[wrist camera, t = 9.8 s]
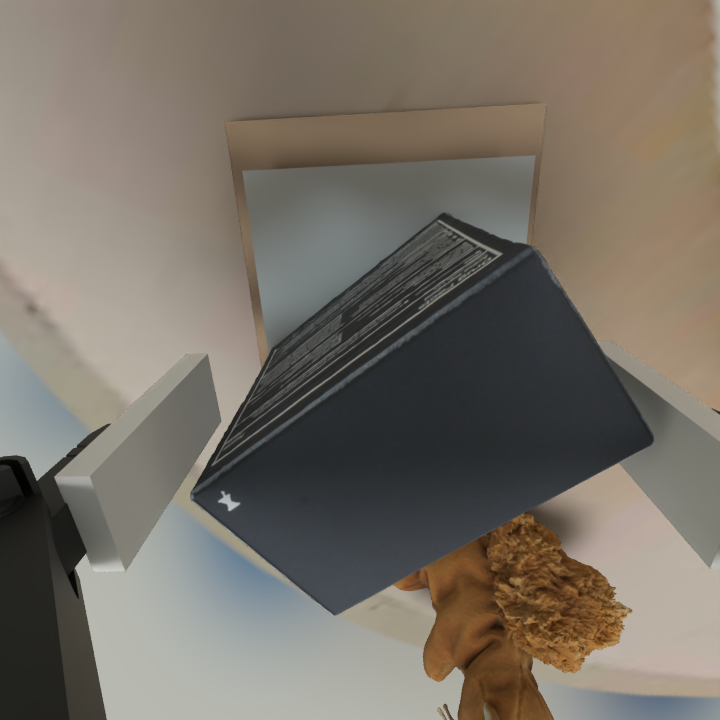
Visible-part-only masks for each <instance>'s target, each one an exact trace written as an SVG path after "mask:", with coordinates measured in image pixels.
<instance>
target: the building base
mask: <svg viewBox="0 0 720 720" xmlns="http://www.w3.org/2000/svg"><path fill="white" fill-rule="evenodd" d="M546 108H547V103H537V104H520V105H503V106H486V107H469V108H452V109H435V110H418V111H400V112H383V113H366V114H349V115H332V116H315V117H298V118H281V119H264V120H247V121H230V122H225V127H226V134H227V140H228V147H229V154H230V160H231V167H232V174H233V180H234V187H235V194H236V200H237V207H238V214H239V220H240V227H241V234H242V240H243V247H244V254H245V260H246V267H247V274H248V280H249V287H250V294H251V300H252V307H253V314H254V320H255V327H256V334H257V340H258V347H259V354H260V360H261V367H263V366H264V363H265V361H266V359H267V357H268V355H269V353H270V351H271V349H272V348H273V347H274V346H276V345H277V344H279V343H280V342H281V341H282V340H283V339H285V338H286V337H287V336H288V335H289V334H291V333H292V332H293V331H294V330H296V329H297V328H298V327H299V326H300V325H302V324H303V323H304V322H305V321H307V320H308V319H309V318H310V317H312V316H313V315H314V314H315V313H317V312H318V311H319V310H321V309H322V308H323V307H324V306H325V305H327V304H328V303H329V302H330V301H331V300H332V299H333V298H335V297H337V296H338V295H339V294H341V293H342V292H343V291H345V290H346V289H347V288H348V287H350V286H351V285H352V284H354V283H355V282H356V281H357V280H359V279H360V278H361V277H362V276H363V275H364V274H366V273H367V272H369V271H370V270H371V269H372V268H374V267H375V266H376V265H377V264H378V263H379V262H380V261H382V260H384V259H385V258H386V257H387V256H389V255H390V254H392V253H393V252H394V251H395V250H397V249H398V248H399V247H400V246H401V245H403V244H404V243H405V242H406V241H408V240H409V239H410V238H412V237H413V236H414V235H415V234H417V233H418V232H419V231H420V230H422V229H423V228H424V227H426V226H427V225H428V224H430V223H431V222H432V221H434V220H435V219H436V218H437V217H438V216H439V215H441V214H442V213H444V212H445V213H449V214H451V215H452V216H453V217H454V218H456V219H460V220H461V221H463V222H465V223H468V224H470V225H473V226H475V227H477V228H480V229H483V230H485V231H487V232H489V233H491V234H494V235H496V236H497V237H500V238H502V239H508V240H510V241H513V242H514V243H516V242H519V243H524V244H527V245H530V246H531V245H532V236H533V227H534V218H535V209H536V199H537V190H538V181H539V172H540V163H541V154H542V144H543V135H544V126H545V117H546Z"/></svg>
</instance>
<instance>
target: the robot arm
mask: <svg viewBox="0 0 720 720" xmlns="http://www.w3.org/2000/svg"><path fill="white" fill-rule="evenodd" d="M597 343H598V344H599V345H600V347H601V349H602V351H603V352H604V354H605V356H606V357H607V358H608V360H609V361H610V362H611V364H612V366H613V367H614V369H615V371H616V372H617V374H618V376H619V377H620V379H621V380H622V382H623V384H624V386H625V387H626V389H627V390H628V392H629V393H630V395H631V397H632V398H633V400H634V401H635V403H636V404H637V406H638V408H639V409H640V411H641V413H642V415H643V417H644V418H645V420H646V422H647V424H648V426H649V427H650V429H651V431H652V433H653V435H654V443H653V444H652V445H651V446H649V447H647V448H645V449H643V450H641V451H639V452H637V453H635V454H633V455H631V456H630V457H628V458H626V459H624V460H622V461H620V462H619V464H620V465H621V466H622V467H623V468H624V469H625V471H626V472H627V473H628V474H629V475H630V476H631V477H632V479H633V480H634V481H635V482H636V483H637V484H638V486H639V487H640V488H641V489H642V490H643V491H644V493H645V494H646V495H647V496H648V497H649V498H650V500H651V501H652V502H653V503H654V504H655V505H656V506H657V508H658V509H659V510H660V511H661V512H662V513H663V515H664V516H665V517H666V518H667V519H668V520H669V522H670V523H671V524H672V525H673V526H674V527H675V529H676V530H677V531H678V532H679V533H680V534H681V535H682V537H683V538H684V539H685V540H686V541H687V542H688V544H689V545H690V546H691V547H692V548H693V549H694V551H695V552H696V553H697V554H698V555H699V556H700V558H701V559H702V560H703V561H704V562H705V563H706V564H707V566H708V567H709V568H710V569H712V568H720V412H719V411H717V410H715V409H712V408H709V407H708V406H706V405H705V404H703V403H702V402H700V401H699V400H697V399H696V398H695V397H693V396H692V395H690V394H689V393H687V392H686V391H684V390H683V389H681V388H680V387H678V386H677V385H675V384H674V383H672V382H671V381H670V380H668V379H667V378H665V377H664V376H662V375H661V374H659V373H658V372H656V371H655V370H653V369H652V368H650V367H649V366H648V365H646V364H645V363H643V362H642V361H640V360H639V359H637V358H636V357H634V356H633V355H631V354H630V353H628V352H627V351H626V350H624V349H623V348H621V347H620V346H618V345H617V344H615V343H614V342H612V341H599V342H597ZM220 422H221V416H220V412H219V407H218V402H217V397H216V392H215V387H214V383H213V378H212V373H211V368H210V363H209V358H208V354H186V355H185V356H184V357H183V358H182V359H181V360H180V361H179V362H178V363H177V364H175V365H174V366H173V367H172V368H171V369H170V370H169V371H168V372H167V373H166V374H165V375H164V376H162V377H161V378H160V379H159V380H158V381H157V382H156V383H155V384H154V385H153V386H152V387H151V388H150V389H148V390H147V391H146V392H145V393H144V394H143V395H142V396H141V397H140V398H139V399H138V400H137V401H135V402H134V403H133V404H132V405H131V406H130V407H129V408H128V409H127V410H126V411H125V412H124V413H123V414H121V415H120V416H119V417H118V418H117V419H116V420H115V421H114V422H113V423H112V424H107V425H105V426H103V427H101V428H100V429H98V430H96V431H94V432H92V433H91V434H89V435H88V436H87V437H86V438H85V439H84V440H83V441H81V442H80V443H79V444H78V445H77V448H74V449H72V450H71V451H70V452H69V453H68V454H67V455H66V457H65V458H62V459H61V460H60V461H59V462H58V463H57V464H56V465H55V466H54V467H52V468H51V469H50V470H49V471H48V472H47V473H46V474H45V475H43V476H42V477H41V478H40V479H39V480H38V481H36V478H35V476H34V474H33V471H32V469H31V467H30V465H29V462H28V461H27V460H26V458H25V457H21V456H17V455H16V456H4V457H0V720H107V719H106V713H105V708H104V704H103V698H102V693H101V688H100V683H99V677H98V672H97V667H96V662H95V657H94V651H93V646H92V641H91V636H90V631H89V625H88V621H87V615H86V610H85V605H84V600H83V594H82V589H81V584H80V579H79V576H78V574H77V572H76V569H75V567H76V565H77V564H78V563H79V561H80V560H81V559H82V558H83V556H84V555H85V554H87V557H88V559H89V562H90V564H91V567H92V569H93V571H94V572H125V571H126V570H127V568H128V566H129V565H130V564H131V562H132V560H133V559H134V557H135V556H136V554H137V552H138V551H139V550H140V548H141V546H142V545H143V543H144V541H145V540H146V539H147V537H148V535H149V534H150V532H151V530H152V529H153V528H154V526H155V524H156V523H157V521H158V520H159V518H160V517H161V515H162V513H163V512H164V510H165V509H166V507H167V506H168V504H169V502H170V501H171V499H172V498H173V496H174V495H175V493H176V491H177V490H178V488H179V487H180V485H181V484H182V482H183V480H184V479H185V477H186V476H187V474H188V473H189V471H190V469H191V468H192V466H193V465H194V463H195V462H196V460H197V458H198V457H199V455H200V454H201V452H202V451H203V449H204V447H205V446H206V444H207V443H208V441H209V440H210V438H211V436H212V435H213V433H214V432H215V430H216V429H217V427H218V425H219V424H220Z"/></svg>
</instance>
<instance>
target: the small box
mask: <svg viewBox="0 0 720 720" xmlns="http://www.w3.org/2000/svg"><path fill="white" fill-rule="evenodd" d="M653 443H654V435H653V433H652V431H651V429H650V427H649V426H648V424H647V422H646V420H645V418H644V417H643V415H642V413H641V411H640V409H639V408H638V406H637V404H636V403H635V401H634V400H633V398H632V397H631V395H630V393H629V392H628V390H627V389H626V387H625V386H624V384H623V382H622V380H621V379H620V377H619V376H618V374H617V372H616V371H615V369H614V367H613V366H612V364H611V362H610V361H609V360H608V358H607V357H606V356H605V354H604V352H603V351H602V349H601V347H600V345H599V344H598V343H597V341H596V339H595V338H594V336H593V335H592V333H591V331H590V330H589V328H588V327H587V325H586V323H585V322H584V320H583V318H582V317H581V315H580V314H579V312H578V311H577V309H576V308H575V306H574V305H573V303H572V302H571V300H570V299H569V297H568V296H567V294H566V293H565V291H564V289H563V288H562V286H561V284H560V283H559V281H558V280H557V278H556V277H555V275H554V274H553V272H552V271H551V269H550V267H549V266H548V264H547V262H546V260H545V259H544V258H543V256H542V255H541V254H540V252H539V251H538V250H537V249H536V248H535V247H532V246H530V245H527V244H524V243H519V242H516V243H514V242H513V241H510V240H508V239H502V238H500V237H497V236H496V235H494V234H491V233H489V232H487V231H485V230H483V229H480V228H477V227H475V226H473V225H470V224H468V223H465V222H463V221H461V220H460V219H456V218H454V217H453V216H452V215H451V214H449V213H445V212H444V213H442V214H441V215H439V216H438V217H437V218H436V219H435V220H434V221H432V222H431V223H430V224H428V225H427V226H426V227H424V228H423V229H422V230H420V231H419V232H418V233H417V234H415V235H414V236H413V237H412V238H410V239H409V240H408V241H406V242H405V243H404V244H403V245H401V246H400V247H399V248H398V249H397V250H395V251H394V252H393V253H392V254H390V255H389V256H387V257H386V258H385V259H384V260H382V261H380V262H379V263H378V264H377V265H376V266H375V267H374V268H372V269H371V270H370V271H369V272H367V273H366V274H364V275H363V276H362V277H361V278H360V279H359V280H357V281H356V282H355V283H354V284H352V285H351V286H350V287H348V288H347V289H346V290H345V291H343V292H342V293H341V294H339V295H338V296H337V297H335V298H333V299H332V300H331V301H330V302H329V303H328V304H327V305H325V306H324V307H323V308H322V309H321V310H319V311H318V312H317V313H315V314H314V315H313V316H312V317H310V318H309V319H308V320H307V321H305V322H304V323H303V324H302V325H300V326H299V327H298V328H297V329H296V330H294V331H293V332H292V333H291V334H289V335H288V336H287V337H286V338H285V339H283V340H282V341H281V342H280V343H279V344H277V345H276V346H274V347H273V348H272V349H271V351H270V353H269V355H268V357H267V359H266V361H265V363H264V366H263V367H262V369H261V371H260V373H259V375H258V377H257V378H256V380H255V383H254V384H253V386H252V387H251V389H250V391H249V394H248V395H247V397H246V399H245V401H244V402H243V403H242V404H241V406H240V408H239V409H238V412H237V413H236V415H235V416H234V418H233V420H232V422H231V424H230V425H229V426H228V429H227V431H226V432H225V433H224V436H223V438H222V439H221V441H220V443H219V444H218V446H217V448H216V450H215V452H214V453H213V454H212V456H211V458H210V460H209V461H208V463H207V465H206V468H205V469H204V471H203V472H202V474H201V476H200V478H199V479H198V481H197V483H196V485H195V487H194V488H193V490H192V491H191V495H190V498H191V501H192V502H194V503H195V504H196V505H197V506H198V507H200V508H201V509H202V510H203V511H205V512H206V513H208V514H209V515H210V516H211V517H212V518H213V519H214V520H216V521H217V522H219V523H220V524H221V525H222V526H223V527H225V528H226V529H227V530H229V531H230V532H231V533H232V534H233V535H234V536H236V537H237V538H238V539H239V540H240V541H242V542H243V543H244V544H245V545H246V546H247V547H249V548H250V549H252V550H253V551H254V552H255V553H256V554H258V555H259V556H260V557H261V558H262V559H264V560H265V561H266V562H267V563H268V564H270V565H271V566H272V567H273V568H274V569H275V570H277V571H278V572H279V573H281V574H282V575H283V576H284V577H286V578H287V579H288V580H289V581H290V582H291V583H293V584H294V585H295V586H296V587H297V588H299V589H300V590H301V591H303V592H304V593H305V594H306V595H307V596H308V597H310V598H311V599H312V600H314V601H315V602H316V603H317V604H318V605H320V606H321V607H322V608H324V609H325V610H326V611H327V612H328V613H329V614H331V615H334V616H336V615H338V614H340V613H342V612H343V611H345V610H347V609H349V608H351V607H353V606H354V605H356V604H358V603H360V602H362V601H364V600H365V599H367V598H369V597H371V596H373V595H375V594H377V593H378V592H380V591H382V590H384V589H386V588H387V587H389V586H391V585H393V584H395V583H396V582H398V581H400V580H402V579H403V578H405V577H407V576H409V575H411V574H413V573H415V572H416V571H418V570H420V569H422V568H424V567H426V566H427V565H429V564H431V563H433V562H435V561H437V560H439V559H440V558H442V557H444V556H446V555H448V554H450V553H451V552H453V551H455V550H457V549H459V548H461V547H463V546H464V545H466V544H468V543H470V542H472V541H474V540H476V539H477V538H479V537H481V536H483V535H485V534H487V533H489V532H490V531H492V530H494V529H496V528H498V527H500V526H501V525H503V524H505V523H507V522H509V521H510V520H512V519H514V518H516V517H518V516H520V515H522V514H523V513H525V512H527V511H529V510H531V509H533V508H535V507H537V506H538V505H540V504H542V503H544V502H546V501H548V500H550V499H551V498H553V497H555V496H557V495H559V494H561V493H563V492H564V491H566V490H568V489H570V488H572V487H574V486H575V485H577V484H579V483H581V482H583V481H585V480H587V479H589V478H591V477H592V476H594V475H596V474H598V473H600V472H602V471H604V470H606V469H608V468H609V467H611V466H613V465H615V464H617V463H619V462H620V461H622V460H624V459H626V458H628V457H630V456H631V455H633V454H635V453H637V452H639V451H641V450H643V449H645V448H647V447H649V446H651V445H652V444H653Z"/></svg>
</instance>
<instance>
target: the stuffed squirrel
mask: <svg viewBox="0 0 720 720" xmlns="http://www.w3.org/2000/svg"><path fill="white" fill-rule="evenodd" d="M560 544H561V542H560V541H559V539H558V538H557V535H555V534H554V532H553V531H552V530H550V529H547V528H546V527H545V526H544V525H543V524H542V523H539V522H536V521H535V520H534V516H533V515H531V514H530V513H528V514H525V513H523V514H522V515H520V516H518V517H516V518H514V519H512V520H510V521H509V522H507V523H505V524H503V525H501V526H500V527H498V528H496V529H494V530H492V531H490V532H489V533H487V534H485V535H483V536H481V537H479V538H477V539H476V540H474V541H472V542H470V543H468V544H466V545H464V546H463V547H461V548H459V549H457V550H455V551H453V552H451V553H450V554H448V555H446V556H444V557H442V558H440V559H439V560H437V561H435V562H433V563H431V564H429V565H427V566H426V567H424V568H422V569H420V570H418V571H416V572H415V573H413V574H411V575H409V576H407V577H405V578H403V579H402V580H400V581H398V582H396V583H395V584H393V585H395V586H396V587H397V588H399V589H400V590H404V591H413V590H419V589H424V588H429V590H430V595H431V600H432V606H433V608H434V610H435V611H436V614H437V616H436V620H435V624H434V626H433V628H432V630H431V633H430V635H429V637H428V639H427V641H426V644H425V647H424V653H423V662H424V669H425V671H426V674H427V675H428V676H429V677H430V678H432V679H434V680H435V681H438V682H440V681H442V680H443V679H445V677H446V676H447V675H448V674H449V673H450V672H451V671H452V670H453V669H454V667H457V668H458V669H460V670H461V671H462V673H463V674H464V676H465V679H464V683H463V687H462V693H461V700H460V705H459V710H458V720H554V719H553V716H552V714H551V712H550V710H549V708H548V706H547V704H546V702H545V700H544V698H543V697H542V695H541V693H540V692H539V691H538V685H537V683H536V680H535V678H534V676H533V674H532V673H531V669H532V664H533V658H532V656H533V657H534V658H537V659H539V660H540V661H543V662H544V664H547V665H549V664H552V665H553V666H554V667H556V668H557V669H558V668H559V670H560V669H561V670H562V672H564V673H566V672H569V671H571V672H573V673H575V672H577V670H580V669H581V667H580V666H581V665H582V664H581V663H582V662H584V660H585V658H584V657H585V656H587V655H590V653H591V652H592V650H594V649H597V650H602V649H603V648H606V647H607V646H614V645H616V644H618V643H619V639H620V638H619V637H620V634H621V633H622V631H621V630H624V628H623V627H624V626H625V625H622V623H623V622H622V621H620V620H622V619H625V618H626V616H627V614H630V613H632V612H633V611H632V610H631V609H630V608H627V607H626V606H624V605H622V604H621V603H620V602H615V601H613V600H615V599H612V598H613V597H614V595H615V594H616V593H614V592H613V590H615V589H616V587H611V586H609V585H610V584H609V583H608V581H607V579H606V577H604V576H603V575H602V574H601V573H600V572H599V571H598V570H596V569H594V568H593V567H591V566H588V565H585V564H582V563H580V562H578V561H576V560H574V559H571V558H569V557H568V556H567V555H566V553H565V552H564V551H563V550H562V549H561V545H560ZM443 708H444V710H445V711H446V713H447V715H448V716H449V719H450V720H454V719H453V718H452V717H451V715H450V713H449V711H448V708H447V705H446V704H444V705H443ZM438 712H439V714H440V715H441V716H442V718H443V719H444V720H447V719H446V717H445V715H444V713H443V712H442V710H441V709H440V708H438Z"/></svg>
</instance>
